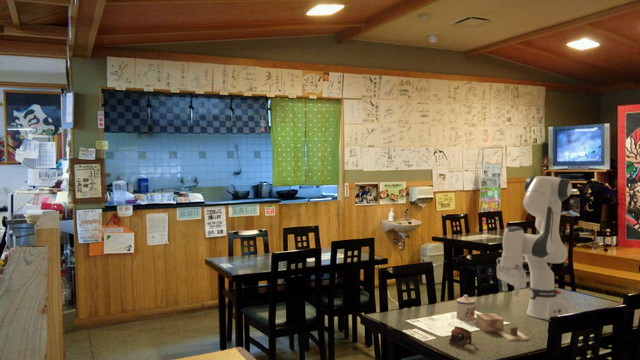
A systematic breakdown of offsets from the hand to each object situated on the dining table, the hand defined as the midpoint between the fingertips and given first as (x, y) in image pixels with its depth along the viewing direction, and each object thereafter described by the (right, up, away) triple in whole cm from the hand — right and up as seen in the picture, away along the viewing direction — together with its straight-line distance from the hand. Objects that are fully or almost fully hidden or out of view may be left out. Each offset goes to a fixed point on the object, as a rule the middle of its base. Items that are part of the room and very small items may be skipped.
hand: (510, 293), depth 225 cm
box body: (-6, -19, +9) cm, 22 cm away
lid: (+1, -20, -1) cm, 20 cm away
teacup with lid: (-11, -19, +27) cm, 34 cm away
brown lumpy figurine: (-25, -20, -11) cm, 34 cm away
